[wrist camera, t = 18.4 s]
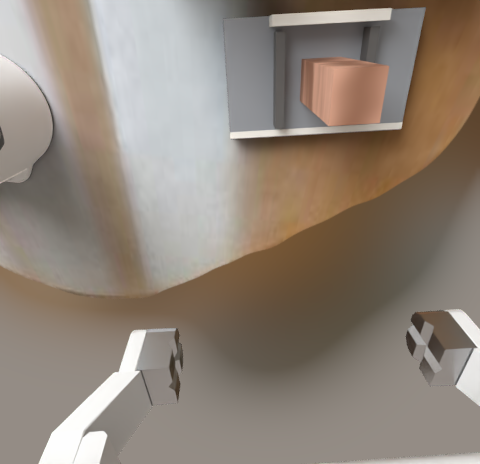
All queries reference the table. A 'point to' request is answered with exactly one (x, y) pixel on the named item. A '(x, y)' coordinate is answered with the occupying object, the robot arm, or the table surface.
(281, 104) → the loading dock
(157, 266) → the table surface
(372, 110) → the terracotta block
